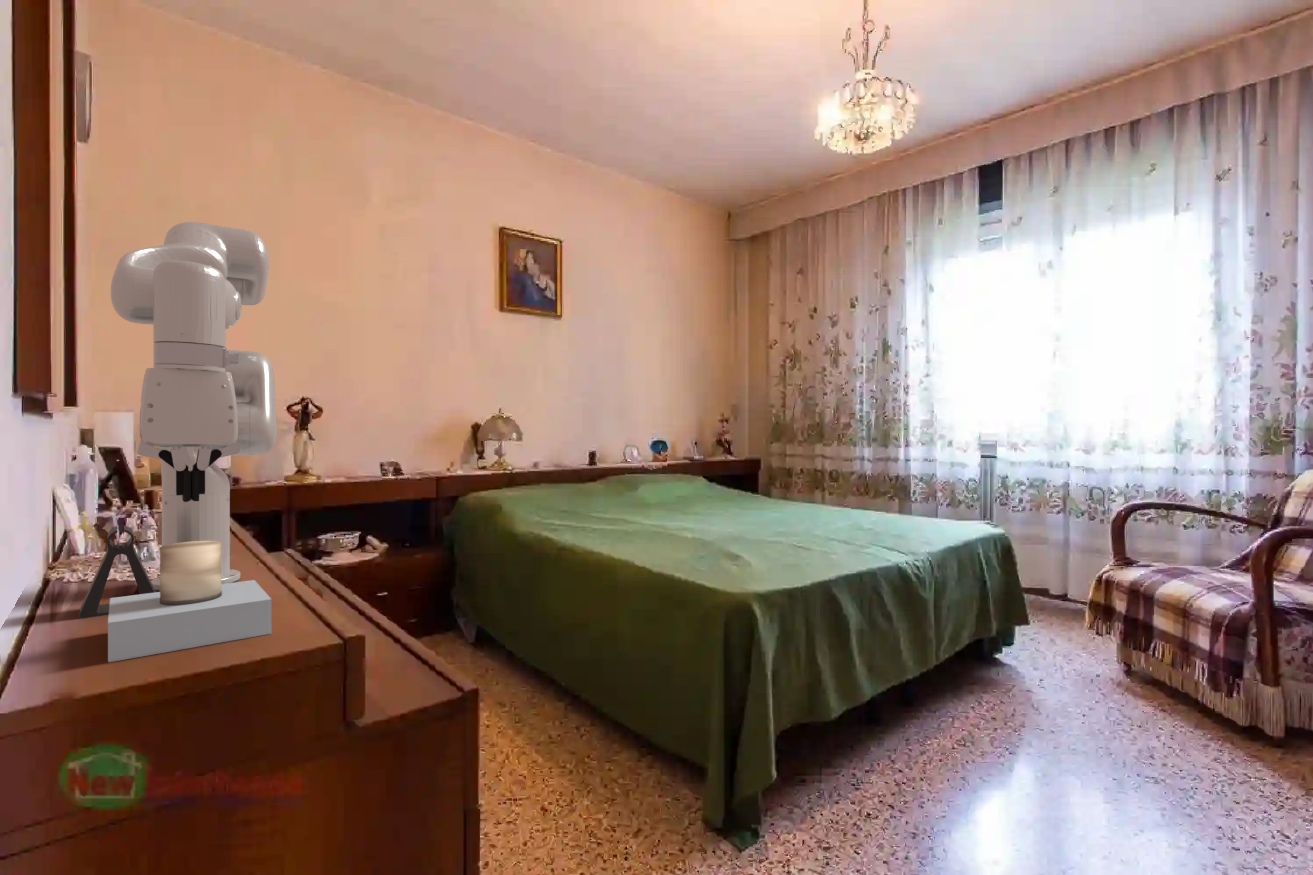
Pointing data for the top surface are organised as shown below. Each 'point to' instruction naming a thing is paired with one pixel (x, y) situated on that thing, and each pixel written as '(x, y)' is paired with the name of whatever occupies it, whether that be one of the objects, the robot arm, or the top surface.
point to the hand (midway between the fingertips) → (190, 500)
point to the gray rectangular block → (186, 621)
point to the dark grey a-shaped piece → (96, 589)
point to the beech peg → (190, 572)
